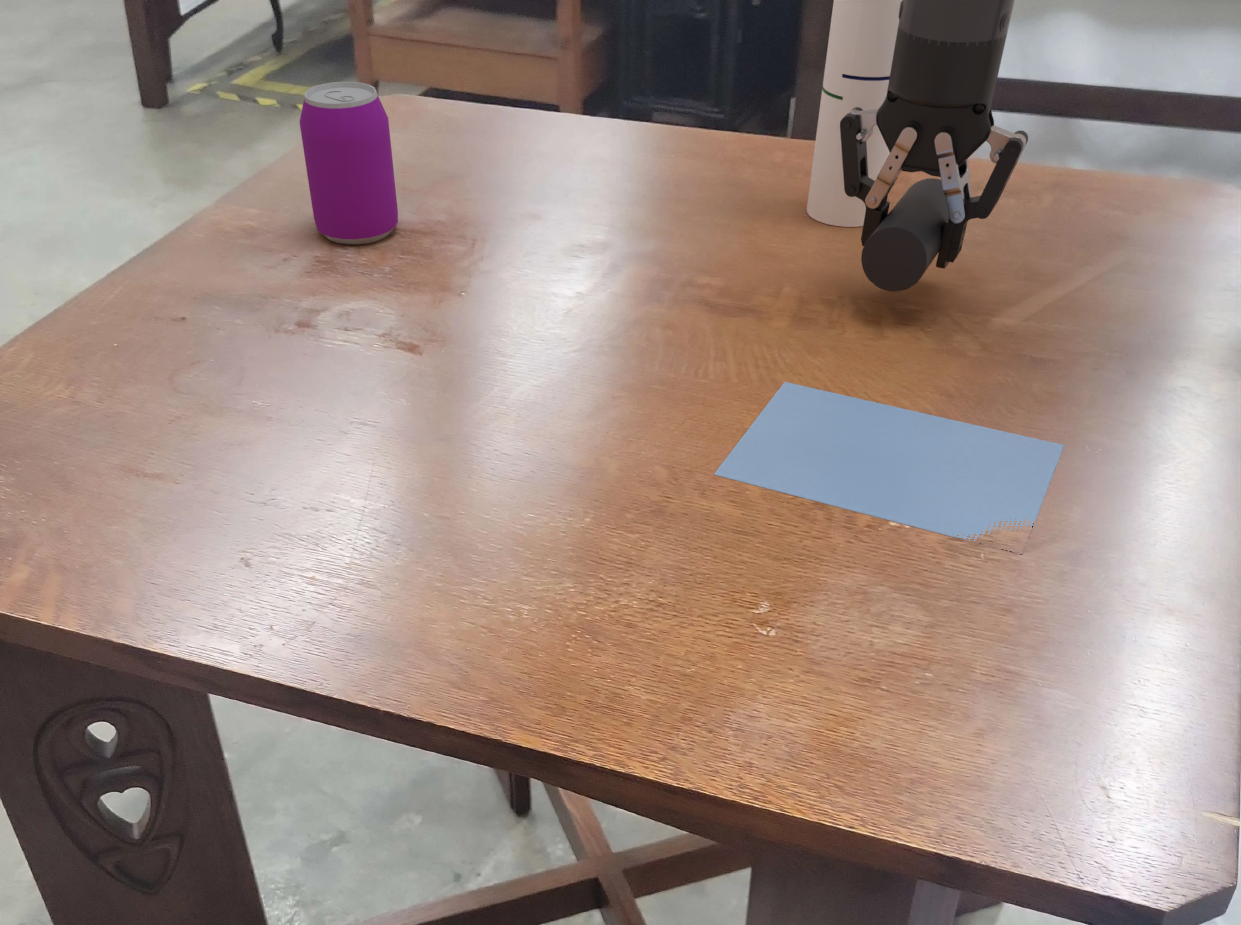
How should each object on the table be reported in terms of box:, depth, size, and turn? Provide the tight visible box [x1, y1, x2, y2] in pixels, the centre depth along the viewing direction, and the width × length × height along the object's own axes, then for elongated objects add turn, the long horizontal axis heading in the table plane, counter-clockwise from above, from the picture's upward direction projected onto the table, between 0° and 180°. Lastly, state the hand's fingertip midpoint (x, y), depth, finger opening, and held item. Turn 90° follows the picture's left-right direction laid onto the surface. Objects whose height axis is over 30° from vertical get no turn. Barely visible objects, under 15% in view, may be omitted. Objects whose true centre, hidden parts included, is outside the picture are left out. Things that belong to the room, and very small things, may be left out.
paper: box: [713, 381, 1065, 542], centre depth 80 cm, size 20×14×1 cm
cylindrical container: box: [806, 0, 902, 228], centre depth 103 cm, size 7×7×25 cm
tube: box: [860, 177, 949, 292], centre depth 94 cm, size 11×5×5 cm, turn 153°
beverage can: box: [299, 81, 399, 245], centre depth 106 cm, size 8×8×12 cm
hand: (907, 257), depth 95 cm, fingers closed on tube, 5 cm apart
